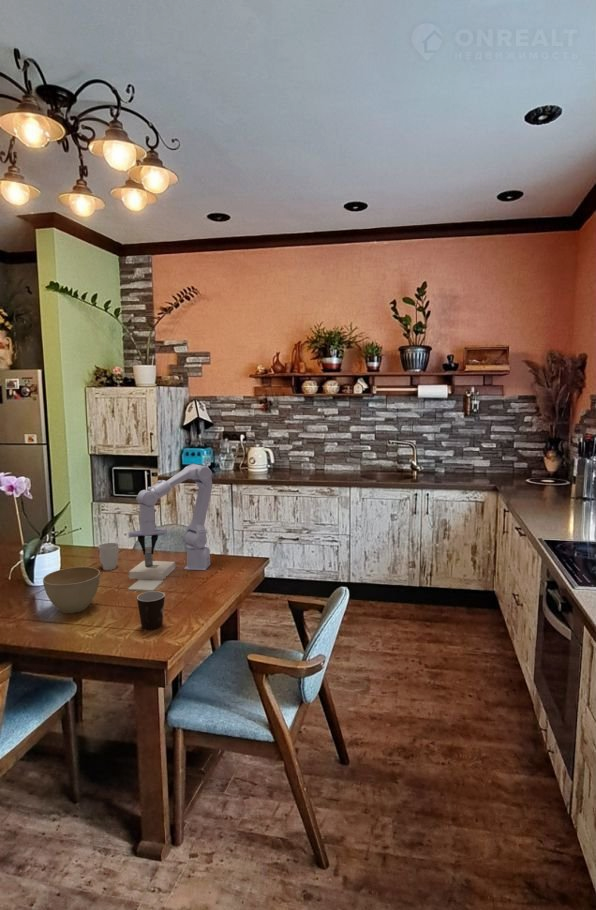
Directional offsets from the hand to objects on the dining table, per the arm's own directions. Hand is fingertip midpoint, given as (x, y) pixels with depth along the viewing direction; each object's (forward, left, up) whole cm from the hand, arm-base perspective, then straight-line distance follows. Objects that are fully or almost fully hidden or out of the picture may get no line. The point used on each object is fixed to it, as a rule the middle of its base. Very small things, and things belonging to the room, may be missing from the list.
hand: (148, 553), depth 214 cm
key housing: (+1, -7, -11) cm, 13 cm away
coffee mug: (-18, +42, -11) cm, 47 cm away
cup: (+22, -11, -11) cm, 27 cm away
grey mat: (-2, +7, -11) cm, 13 cm away
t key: (0, 0, -5) cm, 5 cm away
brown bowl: (+14, +31, -11) cm, 36 cm away
